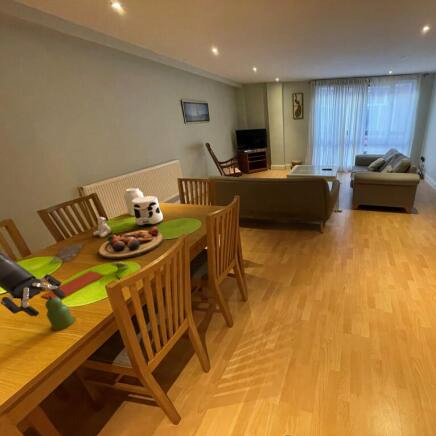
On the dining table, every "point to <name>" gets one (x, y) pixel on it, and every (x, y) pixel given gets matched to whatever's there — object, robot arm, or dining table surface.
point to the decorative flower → (119, 266)
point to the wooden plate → (130, 244)
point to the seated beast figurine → (102, 228)
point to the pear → (58, 313)
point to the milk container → (147, 210)
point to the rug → (67, 253)
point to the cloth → (76, 284)
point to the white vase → (131, 198)
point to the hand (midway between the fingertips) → (51, 305)
